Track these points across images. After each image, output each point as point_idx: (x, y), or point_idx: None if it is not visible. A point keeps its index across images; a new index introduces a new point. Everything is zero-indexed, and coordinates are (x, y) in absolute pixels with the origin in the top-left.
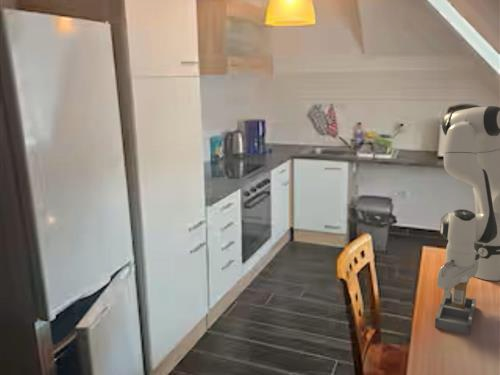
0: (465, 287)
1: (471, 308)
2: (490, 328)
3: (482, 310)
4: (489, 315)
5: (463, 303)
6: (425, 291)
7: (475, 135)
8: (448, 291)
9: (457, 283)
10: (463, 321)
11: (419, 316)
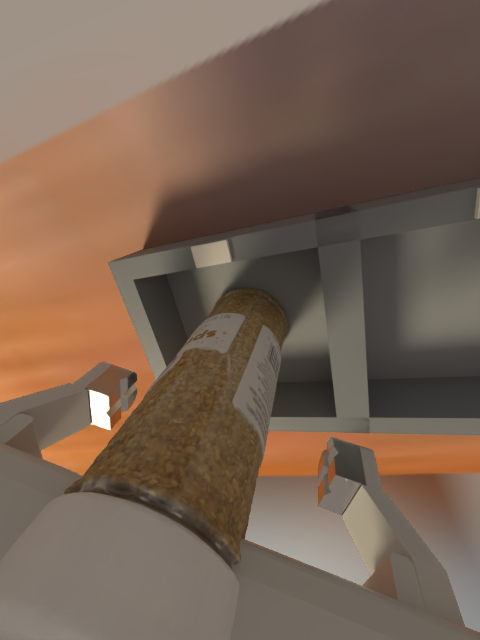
0: (191, 420)
1: (275, 248)
2: (408, 17)
3: (152, 196)
4: (185, 127)
5: (251, 319)
6: None
7: None
8: (425, 554)
9: (309, 607)
10: (391, 256)
11: (449, 465)
